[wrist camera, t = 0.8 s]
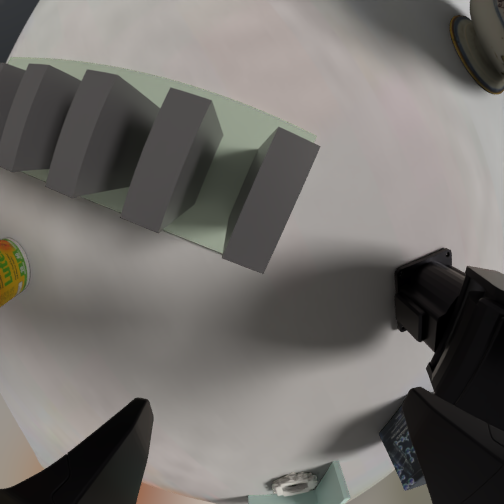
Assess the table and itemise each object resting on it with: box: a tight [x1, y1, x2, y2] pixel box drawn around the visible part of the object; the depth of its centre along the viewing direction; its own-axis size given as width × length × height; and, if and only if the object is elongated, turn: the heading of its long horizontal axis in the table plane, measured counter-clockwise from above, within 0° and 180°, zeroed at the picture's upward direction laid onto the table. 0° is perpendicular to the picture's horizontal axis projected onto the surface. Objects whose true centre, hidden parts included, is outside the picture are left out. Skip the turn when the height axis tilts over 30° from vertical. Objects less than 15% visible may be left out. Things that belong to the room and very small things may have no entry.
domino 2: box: [0, 63, 81, 172], centre depth 12 cm, size 2×5×9 cm, turn 157°
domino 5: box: [222, 127, 320, 274], centre depth 14 cm, size 2×5×9 cm, turn 157°
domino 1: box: [0, 63, 26, 141], centre depth 11 cm, size 2×5×9 cm, turn 157°
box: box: [379, 392, 434, 491], centre depth 22 cm, size 8×6×11 cm
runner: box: [8, 57, 317, 254], centre depth 16 cm, size 30×10×1 cm, turn 67°
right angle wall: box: [248, 461, 350, 504], centre depth 27 cm, size 12×12×8 cm
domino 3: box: [45, 69, 160, 198], centre depth 12 cm, size 2×5×9 cm, turn 157°
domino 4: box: [120, 87, 223, 233], centre depth 13 cm, size 2×5×9 cm, turn 157°
